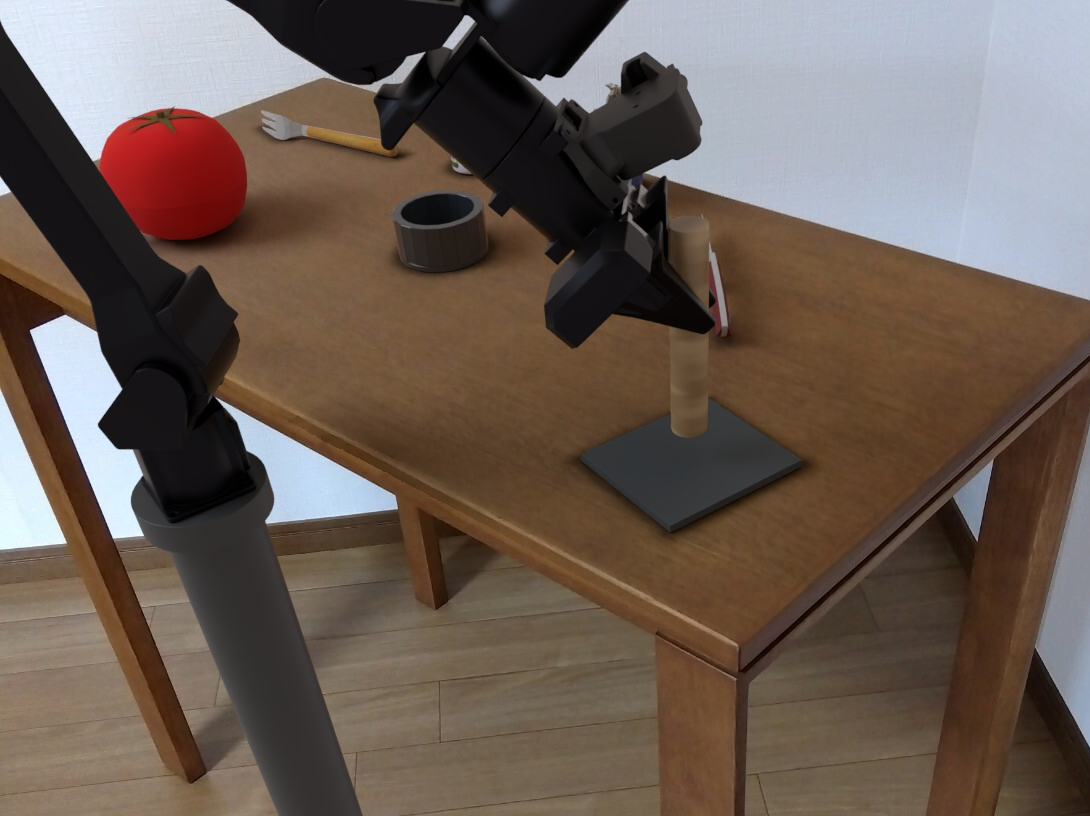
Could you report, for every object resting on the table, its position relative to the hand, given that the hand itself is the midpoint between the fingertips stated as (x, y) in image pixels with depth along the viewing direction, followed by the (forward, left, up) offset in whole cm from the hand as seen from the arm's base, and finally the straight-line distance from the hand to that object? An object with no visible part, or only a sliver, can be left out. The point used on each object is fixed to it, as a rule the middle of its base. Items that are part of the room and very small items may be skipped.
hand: (710, 317), depth 69 cm
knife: (+16, +19, -11) cm, 27 cm away
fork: (+5, +72, -11) cm, 73 cm away
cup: (+2, +40, -11) cm, 42 cm away
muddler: (-1, +1, -8) cm, 8 cm away
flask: (+20, +38, -11) cm, 45 cm away
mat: (-1, +1, -11) cm, 11 cm away
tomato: (-14, +61, -11) cm, 64 cm away
